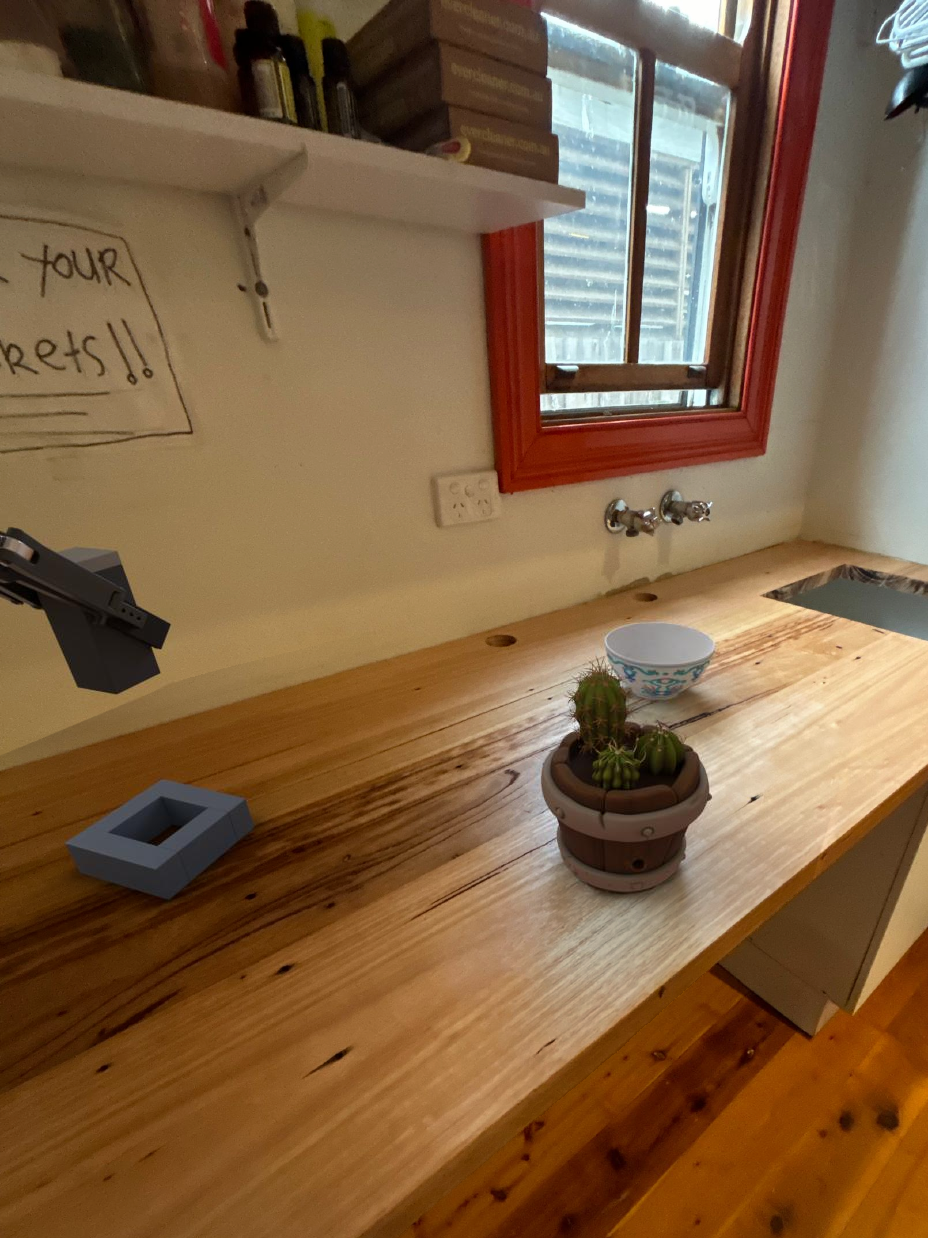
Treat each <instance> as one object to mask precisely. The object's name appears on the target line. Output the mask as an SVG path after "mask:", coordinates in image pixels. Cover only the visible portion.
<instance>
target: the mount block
mask: <svg viewBox="0 0 928 1238" xmlns="http://www.w3.org/2000/svg"><path fill="white" fill-rule="evenodd" d="M171 826H178V827H181V828H179V829H178V830H176V832H174V833H173V834H171V835H170V836H169V837H168V838H166V839H165V840H164V841H162V842H161V843H160V844H158V845H154V844H151V843H150V842H151V841H152V840H153V839H154V838H156V837H157V836H159V835H160V834H162V833H163V832H164V831H165V830H167V829H169V827H171ZM254 828H255V824H254V821H253V818H252V815H251V812H250V808H249V806H248V802H247V799H246V798H245V797H240V796H236V795H232V794H228V793H225V792H224V793H223V792H219V791H216V790H215V791H214V790H211V789H208V788H207V789H206V788H202V787H197V786H194V785H189V784H185V783H180V782H177V781H172V780H169V779H163V778H162V779H160V780H159V781H157V782H156V783H154V784H153V785H151V786H150V787H148V788H147V789H145V790H144V791H142V792H140V793H138V794H137V795H136V796H134V797H133V798H131V799H130V800H128V801H127V802H125V803H124V804H122V805H121V806H119V807H118V808H116V809H114V810H113V811H111V812H110V813H108V814H107V815H105V816H104V817H102V818H101V819H99V820H98V821H96V822H94V823H92V824H91V825H90V826H89V827H87V828H85V829H84V830H83V831H81V832H79V833H78V834H77V835H75V836H73V837H72V838H70V839H69V840H67V841H65V843H64V845H65V846H66V848H67V850H68V852H69V854H70V856H71V858H72V860H73V862H74V863H75V866H76V867H77V870H78V871H79V873H80V874H82V875H86V876H89V877H92V878H96V879H98V880H103V881H105V882H109V883H112V884H115V885H119V886H122V887H125V888H128V889H132V890H136V891H138V892H141V893H145V894H147V895H152V896H154V897H158V898H161V899H165V900H171V898H173V897H174V896H175V895H176V894H178V893H179V892H180V891H181V890H182V889H184V887H186V886H187V885H188V884H189V883H191V882H192V881H193V880H194V879H195V878H197V876H198V875H200V874H202V872H203V871H205V870H206V869H207V868H208V867H210V866H211V864H213V863H214V862H215V861H216V860H218V859H219V858H220V857H221V856H222V855H223V854H225V853H226V852H227V851H228V850H229V849H230V848H232V847H233V846H234V845H235V844H237V842H239V841H240V840H241V839H242V838H243V837H245V836H246V835H247V834H248V833H249V832H251V831H252V830H253V829H254Z"/></svg>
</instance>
